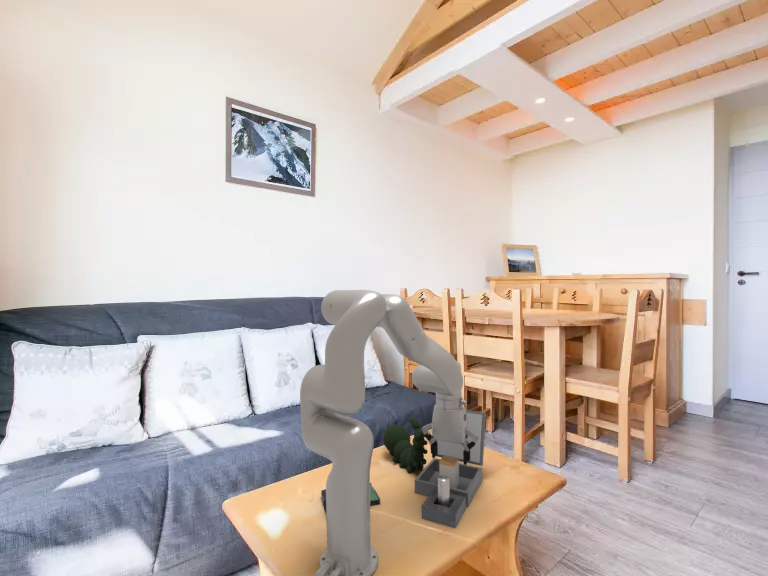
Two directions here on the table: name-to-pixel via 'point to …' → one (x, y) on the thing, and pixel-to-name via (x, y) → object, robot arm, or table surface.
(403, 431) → the toy figurine
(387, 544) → the table surface
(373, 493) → the disk drive
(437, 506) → the socket block
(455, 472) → the block
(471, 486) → the case
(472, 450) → the lid
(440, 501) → the rod
